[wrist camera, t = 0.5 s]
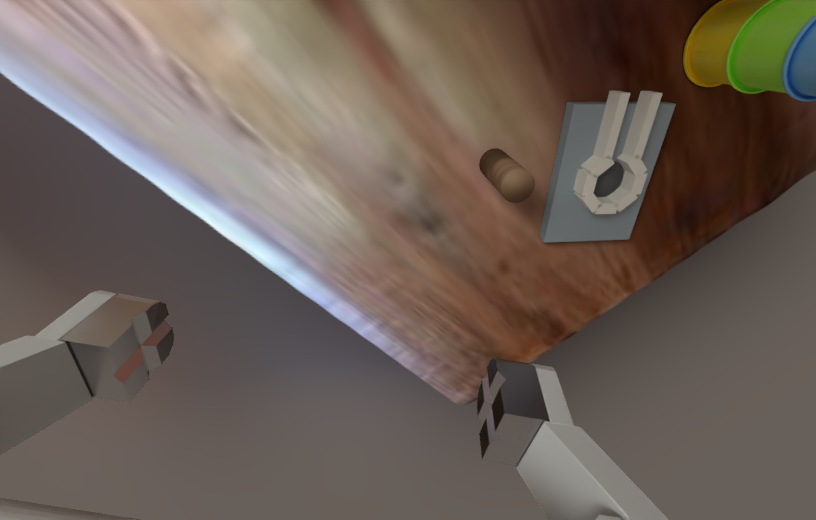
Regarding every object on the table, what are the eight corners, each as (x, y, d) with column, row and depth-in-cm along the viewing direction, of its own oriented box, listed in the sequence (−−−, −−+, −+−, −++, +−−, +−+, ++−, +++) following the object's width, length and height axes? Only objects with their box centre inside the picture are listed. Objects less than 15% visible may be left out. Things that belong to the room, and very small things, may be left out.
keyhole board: (569, 88, 49) (587, 93, 45) (669, 88, 50) (695, 93, 46) (538, 236, 60) (550, 250, 56) (621, 233, 61) (638, 246, 57)
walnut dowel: (481, 148, 52) (504, 170, 43) (509, 148, 52) (537, 169, 44) (478, 176, 54) (499, 203, 45) (505, 176, 54) (531, 202, 46)
